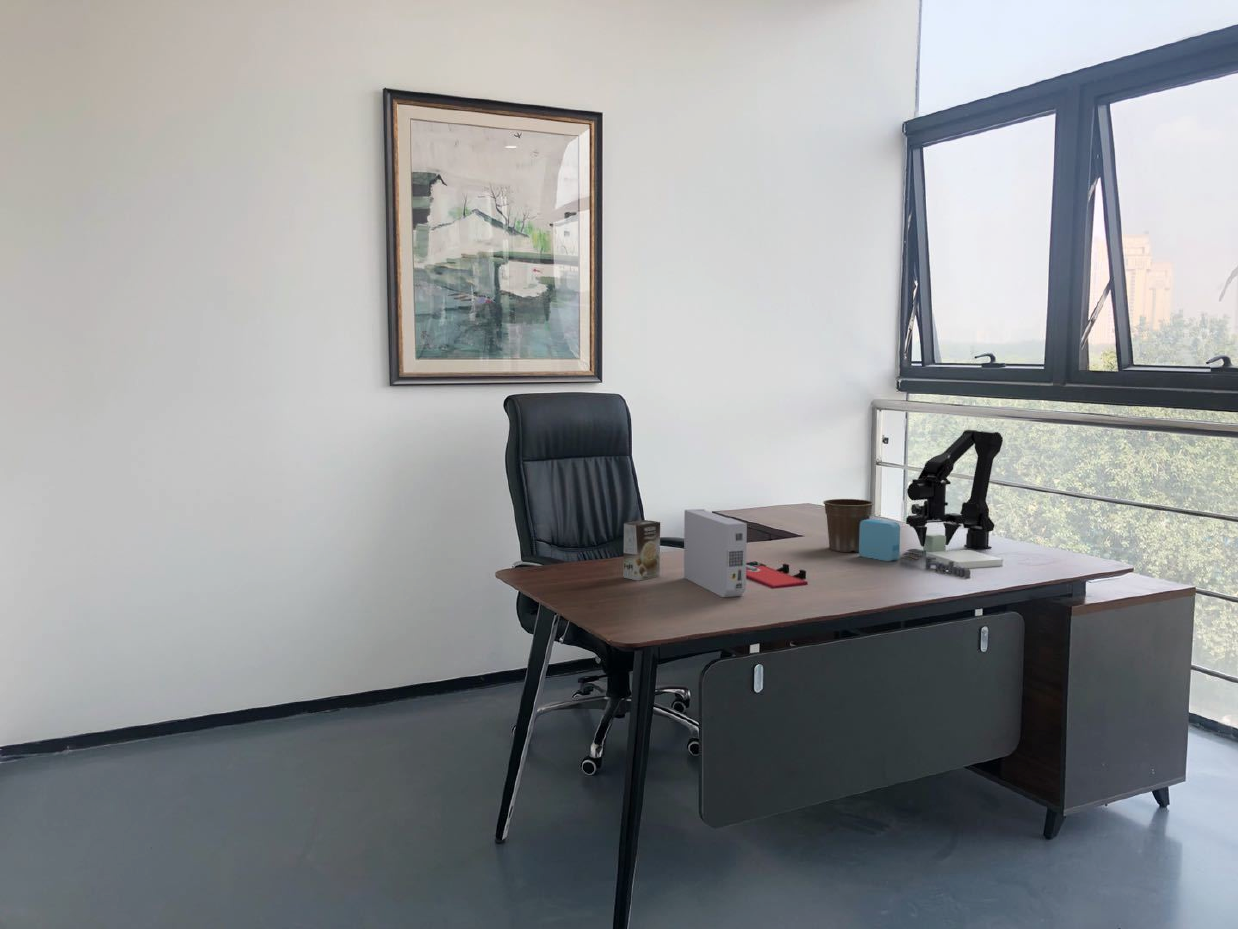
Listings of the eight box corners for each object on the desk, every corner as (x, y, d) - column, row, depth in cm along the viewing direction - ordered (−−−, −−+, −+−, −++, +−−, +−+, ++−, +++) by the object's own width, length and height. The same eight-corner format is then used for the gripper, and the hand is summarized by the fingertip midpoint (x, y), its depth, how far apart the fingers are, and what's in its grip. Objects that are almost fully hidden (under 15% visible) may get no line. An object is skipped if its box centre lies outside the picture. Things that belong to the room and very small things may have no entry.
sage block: (935, 551, 306) (936, 533, 305) (945, 554, 301) (946, 536, 301) (922, 552, 305) (923, 534, 304) (932, 555, 300) (932, 537, 299)
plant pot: (815, 550, 307) (816, 502, 305) (831, 543, 320) (832, 497, 319) (863, 556, 298) (865, 506, 297) (878, 548, 312) (879, 500, 310)
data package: (899, 560, 292) (900, 522, 291) (891, 562, 289) (893, 524, 288) (866, 554, 301) (867, 518, 299) (858, 556, 298) (859, 519, 296)
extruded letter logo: (899, 563, 288) (900, 545, 287) (903, 563, 288) (903, 545, 288) (966, 579, 266) (967, 560, 266) (970, 578, 267) (970, 559, 267)
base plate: (968, 555, 299) (968, 549, 298) (1002, 565, 283) (1002, 559, 283) (926, 558, 294) (926, 552, 294) (958, 568, 279) (958, 562, 279)
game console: (702, 576, 268) (702, 508, 266) (746, 598, 243) (747, 523, 241) (683, 578, 266) (684, 509, 264) (726, 600, 241) (727, 524, 239)
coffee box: (638, 581, 262) (638, 525, 260) (622, 577, 267) (622, 522, 265) (660, 576, 268) (660, 521, 267) (644, 573, 273) (644, 519, 271)
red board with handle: (760, 563, 287) (718, 568, 281) (760, 554, 287) (718, 559, 281) (818, 585, 260) (773, 591, 254) (818, 575, 259) (773, 581, 253)
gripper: (945, 494, 312) (943, 540, 313) (897, 496, 306) (895, 542, 308) (966, 498, 301) (964, 545, 303) (917, 500, 296) (915, 549, 297)
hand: (934, 545), depth 303 cm, fingers open, 9 cm apart
